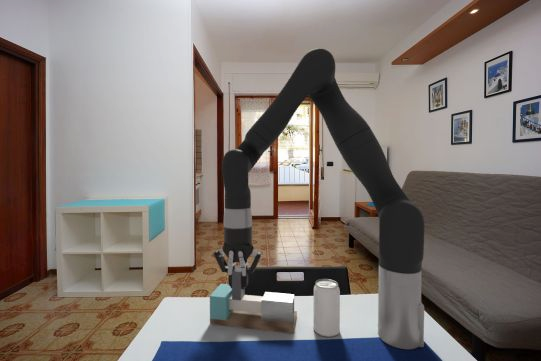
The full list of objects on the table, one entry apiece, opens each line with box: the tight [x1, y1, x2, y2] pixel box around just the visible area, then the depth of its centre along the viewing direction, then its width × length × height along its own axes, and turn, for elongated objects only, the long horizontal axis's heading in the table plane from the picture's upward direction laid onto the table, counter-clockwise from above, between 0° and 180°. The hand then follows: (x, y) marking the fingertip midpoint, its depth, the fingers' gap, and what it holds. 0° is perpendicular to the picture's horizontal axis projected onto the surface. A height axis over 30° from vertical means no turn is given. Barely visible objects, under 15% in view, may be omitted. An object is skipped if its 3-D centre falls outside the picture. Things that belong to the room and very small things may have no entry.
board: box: [209, 310, 298, 334], centre depth 73 cm, size 22×8×2 cm, turn 79°
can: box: [313, 278, 341, 338], centre depth 68 cm, size 6×6×12 cm
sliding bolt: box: [229, 266, 264, 313], centre depth 73 cm, size 14×4×10 cm, turn 79°
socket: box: [209, 283, 233, 320], centre depth 75 cm, size 4×8×6 cm, turn 169°
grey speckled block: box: [261, 291, 295, 324], centre depth 72 cm, size 8×5×5 cm, turn 79°
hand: (238, 287), depth 74 cm, fingers closed on sliding bolt, 2 cm apart
